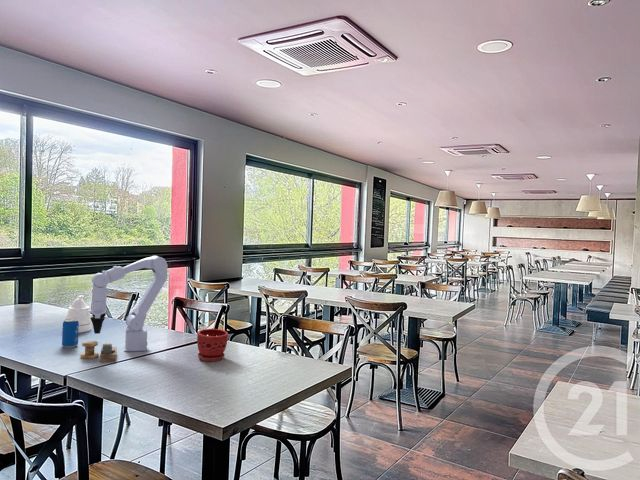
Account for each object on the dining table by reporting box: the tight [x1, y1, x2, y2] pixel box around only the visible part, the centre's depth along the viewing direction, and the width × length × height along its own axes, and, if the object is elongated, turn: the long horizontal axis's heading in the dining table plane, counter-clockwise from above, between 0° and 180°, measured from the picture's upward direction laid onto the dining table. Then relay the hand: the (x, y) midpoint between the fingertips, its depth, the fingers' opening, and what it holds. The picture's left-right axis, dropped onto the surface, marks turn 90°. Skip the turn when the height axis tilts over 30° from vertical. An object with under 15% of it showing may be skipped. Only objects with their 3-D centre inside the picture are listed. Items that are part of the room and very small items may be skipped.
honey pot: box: [64, 295, 93, 334], centre depth 246 cm, size 13×13×18 cm
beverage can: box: [61, 319, 79, 349], centre depth 216 cm, size 6×6×12 cm
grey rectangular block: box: [102, 342, 113, 354], centre depth 200 cm, size 4×4×7 cm
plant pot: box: [196, 328, 229, 362], centre depth 209 cm, size 13×13×12 cm
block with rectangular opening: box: [99, 346, 118, 363], centre depth 202 cm, size 6×12×3 cm, turn 22°
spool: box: [79, 340, 100, 360], centre depth 202 cm, size 7×7×6 cm
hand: (97, 331), depth 208 cm, fingers open, 7 cm apart
